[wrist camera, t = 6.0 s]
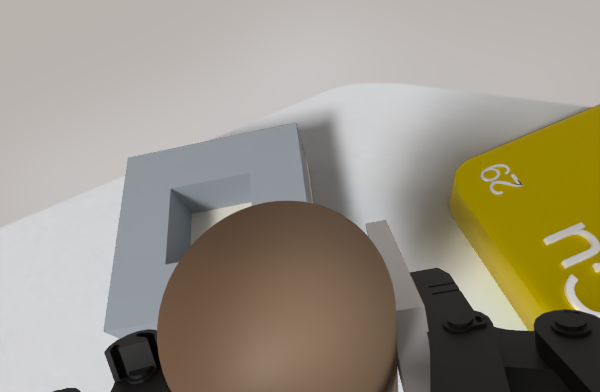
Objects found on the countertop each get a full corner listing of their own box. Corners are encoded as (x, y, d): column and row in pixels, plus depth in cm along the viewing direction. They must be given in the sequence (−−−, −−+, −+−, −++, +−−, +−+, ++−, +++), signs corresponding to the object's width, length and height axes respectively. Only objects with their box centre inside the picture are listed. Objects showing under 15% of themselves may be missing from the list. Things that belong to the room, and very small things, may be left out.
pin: (384, 322, 18) (369, 182, 9) (410, 442, 15) (426, 427, 6) (283, 338, 18) (165, 222, 9) (292, 457, 16) (147, 463, 7)
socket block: (307, 163, 38) (296, 122, 33) (330, 319, 30) (319, 295, 26) (159, 192, 39) (128, 157, 35) (145, 349, 32) (103, 331, 27)
